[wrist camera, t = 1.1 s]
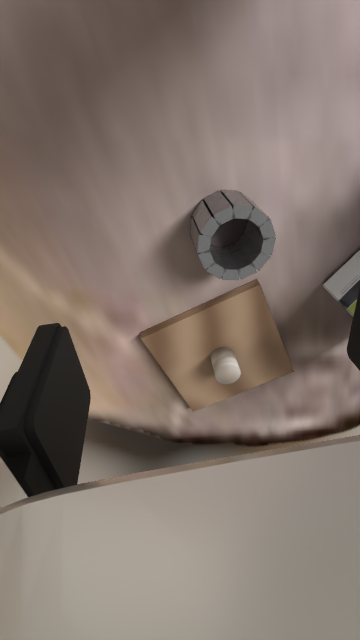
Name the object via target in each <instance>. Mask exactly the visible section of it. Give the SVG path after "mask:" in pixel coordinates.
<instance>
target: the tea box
mask: <svg viewBox="0 0 360 640" xmlns="http://www.w3.org/2000/svg"><path fill="white" fill-rule="evenodd" d="M323 287H324V288H325V289H326V290H327V291H328V292H329V293H330V294H331V295H332V296H333V297H334V298H335V299H336V300H337V301H338V302H339V303H340V304H341V305H342V306H343V307H344V308H345V309H346V310H347V311H348V312H349V313H350V314H351V315H352V316H353V317H354V312H355V307H356V302H357V297H358V292H359V288H360V250H359V251H358V252H357V253H356V254H355V255H354V256H353V257H352V258H351V259H350V260H349V261H348V262H346V263H345V264H344V265H343V266H342V267H341V268H340V269H339V270H338V271H337V272H336V273H335V274H334V275H333V276H332V277H331V278H330V279H329V280H328V281H326V282H325V283H324V284H323Z"/></svg>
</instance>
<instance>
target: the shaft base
mask: <svg viewBox="0 0 360 640" xmlns="http://www.w3.org/2000/svg"><path fill="white" fill-rule="evenodd" d="M141 340H142V341H143V343H144V344H145V345H146V347H147V348H148V349H149V351H150V352H151V354H152V355H153V356H154V358H155V359H156V361H157V362H158V363H159V365H160V366H161V368H162V369H163V370H164V372H165V373H166V375H167V376H168V377H169V379H170V380H171V381H172V383H173V384H174V386H175V387H176V388H177V390H178V391H179V393H180V394H181V395H182V397H183V398H184V400H185V401H186V402H187V404H188V405H189V407H190V408H191V409H192V411H196V410H198V409H201V408H203V407H206V406H208V405H211V404H213V403H216V402H218V401H221V400H223V399H226V398H228V397H231V396H233V395H236V394H238V393H241V392H243V391H246V390H248V389H251V388H253V387H256V386H258V385H261V384H263V383H266V382H268V381H271V380H273V379H276V378H278V377H281V376H283V375H286V374H288V373H291V372H293V371H294V370H293V368H292V365H291V363H290V360H289V358H288V355H287V352H286V350H285V347H284V345H283V342H282V340H281V337H280V335H279V332H278V329H277V327H276V324H275V322H274V319H273V317H272V314H271V311H270V309H269V306H268V304H267V301H266V299H265V296H264V293H263V291H262V288H261V286H260V284H259V282H258V280H257V279H256V280H254V281H251V282H249V283H247V284H245V285H243V286H241V287H238V288H236V289H234V290H232V291H230V292H227V293H225V294H223V295H221V296H219V297H217V298H214V299H212V300H210V301H208V302H206V303H204V304H201V305H199V306H197V307H195V308H193V309H190V310H188V311H186V312H184V313H182V314H180V315H177V316H175V317H173V318H171V319H169V320H167V321H164V322H162V323H160V324H158V325H156V326H154V327H151V328H149V329H147V330H145V331H143V332H141Z"/></svg>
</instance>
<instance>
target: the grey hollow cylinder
mask: <svg viewBox="0 0 360 640" xmlns="http://www.w3.org/2000/svg"><path fill="white" fill-rule="evenodd" d="M204 200H205V202H204V201H203V200H201V202H200V203H199V205H198V206H197V208H196V209H195V211H194V212H193V214H192V215H193V216H191V227H190V233H191V237H192V240H193V243H194V246H195V248H196V251H197V254H198V256H199V258H200V260H201V263H202V265H203V267H204V269H206V271H207V272H209V273H211V274H212V275H214V276H216V277H217V278H219V279H220V278H222V280H239V277H240V279H243V278H246V277H248V276H250V275H252V274H254V273H256V272H257V271H256V269H257V270H258V271H259V270H260V269H261V268H262V267H263V265H264V264H265V263H266V262H267V261H268V259H269V258H270V256H269V255H272V251H273V247H274V243H275V239H276V238H275V237H274V236H276V235H275V232H274V229H273V226H272V223H271V220H270V218H269V217H268V216H267V215H266V214H265V213H264V212H263V211H262V210H261V209H260V208H259V207H258V206H257V205H256V204H255V203H254V202H253V201H251V200H250V199H249V198H247V197H246V196H245V195H243V194H242V193H241V192H238V191H232V190H221V192H220V191H217V192H215V193H213V194H211V195H209V196H207V197H205V198H204ZM234 218H237V219H247V220H248V221H247V226H246V232H245V234H244V235H243V236H242V237H241V239H240V240H239V241H238V242H237V243H235V244H233V245H231V246H229V247H227V248H219V247H214V246H212V245H211V244H210V243H211V237H212V236H213V234H214V233H215V232H216V230H217V229H218V227H219V226H220V225H222V224H224V223H226V222H228V221H230V220H232V219H234Z"/></svg>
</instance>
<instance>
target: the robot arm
mask: <svg viewBox="0 0 360 640" xmlns="http://www.w3.org/2000/svg"><path fill="white" fill-rule="evenodd" d="M347 353H348V356H349V358H350V359H351V361H352V362H353V363H354V364H355V365H356V366H357V368H358V369H359V370H360V288H359V292H358V297H357V302H356V307H355V312H354V317H353V321H352V326H351V331H350V336H349V341H348V346H347ZM89 406H90V390H89V387H88V384H87V381H86V378H85V375H84V373H83V370H82V367H81V364H80V361H79V359H78V356H77V353H76V350H75V348H74V345H73V342H72V339H71V336H70V334H69V331H68V329H67V327H61V325H60V324H59V323H54V324H47V325H41V326H39V327H38V328H37V330H36V333H35V335H34V337H33V339H32V342H31V344H30V346H29V348H28V350H27V353H26V355H25V357H24V359H23V362H22V364H21V366H20V368H19V370H18V372H16V373H15V374H14V375H13V377H12V379H11V381H10V383H9V385H8V388H7V390H6V392H5V394H4V396H3V398H2V401H1V403H0V640H360V435H358V436H352V437H345V438H339V439H333V440H327V441H321V442H316V443H309V444H303V445H297V446H292V447H285V448H280V449H274V450H268V451H262V452H256V453H250V454H245V455H238V456H233V457H227V458H221V459H215V460H210V461H204V462H198V463H192V464H186V465H180V466H175V467H170V468H164V469H157V470H152V471H146V472H140V473H135V474H130V475H125V476H120V477H114V478H109V479H104V480H98V481H94V482H88V483H83V484H78V485H77V482H78V475H79V469H80V463H81V456H82V450H83V444H84V437H85V431H86V425H87V419H88V412H89Z"/></svg>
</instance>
